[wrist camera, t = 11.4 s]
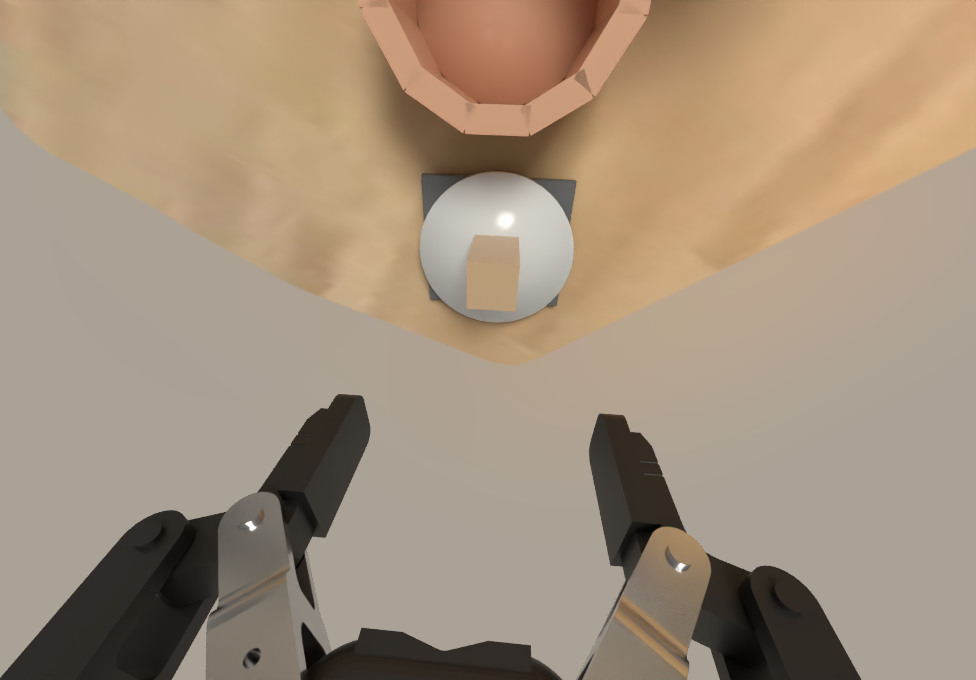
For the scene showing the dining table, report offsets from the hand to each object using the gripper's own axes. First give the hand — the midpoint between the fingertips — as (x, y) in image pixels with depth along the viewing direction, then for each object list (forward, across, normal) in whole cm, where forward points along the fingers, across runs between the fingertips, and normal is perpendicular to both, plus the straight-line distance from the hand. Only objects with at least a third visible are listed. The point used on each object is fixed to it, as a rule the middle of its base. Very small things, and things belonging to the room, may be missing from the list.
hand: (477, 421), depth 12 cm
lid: (+16, 0, 0) cm, 16 cm away
